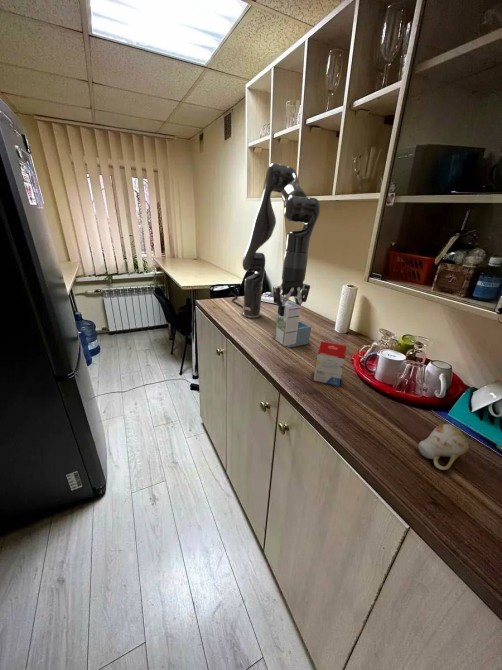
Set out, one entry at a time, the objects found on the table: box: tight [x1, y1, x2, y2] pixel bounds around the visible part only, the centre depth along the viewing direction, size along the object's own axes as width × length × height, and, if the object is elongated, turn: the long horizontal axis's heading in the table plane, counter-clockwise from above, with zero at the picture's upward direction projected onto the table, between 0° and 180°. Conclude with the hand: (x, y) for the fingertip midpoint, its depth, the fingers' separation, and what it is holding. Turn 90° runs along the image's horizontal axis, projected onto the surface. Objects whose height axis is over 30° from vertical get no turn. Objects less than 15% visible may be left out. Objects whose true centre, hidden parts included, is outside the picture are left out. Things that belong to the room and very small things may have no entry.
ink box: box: [313, 340, 348, 387], centre depth 90 cm, size 8×5×15 cm, turn 71°
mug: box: [418, 423, 469, 471], centre depth 64 cm, size 8×10×10 cm
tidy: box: [285, 319, 312, 348], centre depth 119 cm, size 11×11×8 cm
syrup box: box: [274, 300, 302, 347], centre depth 96 cm, size 6×6×14 cm
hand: (288, 314), depth 95 cm, fingers closed on syrup box, 5 cm apart
